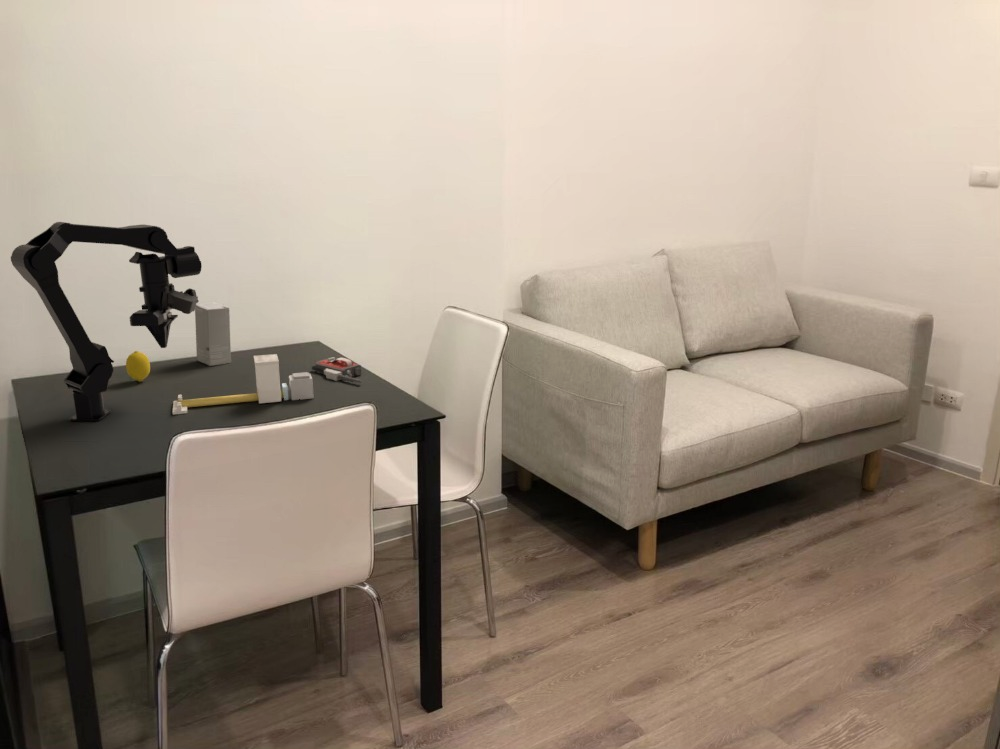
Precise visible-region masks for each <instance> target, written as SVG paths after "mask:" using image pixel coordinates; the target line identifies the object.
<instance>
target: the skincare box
mask: <svg viewBox="0 0 1000 749" xmlns="http://www.w3.org/2000/svg"><path fill="white" fill-rule="evenodd" d="M230 316H231V315H230V307H229V306H226V305H225V304H222V303H219V302H216V301H214V302H203V303H202V302H201V303H196V307H195V311H194V317H195V318H194V319H195V322H194V323H195V340H196V342H195V344H196V347H195V348H196V360H197V361H198V362H200V363H202V364H204V365H207V366H208V367H211V366H218V365H224V364H225V365H227V364H230V363H232V356H231V355H232V354H231V352H232V351H231V348H232V346H231V325H230V323H231V321H230Z"/></svg>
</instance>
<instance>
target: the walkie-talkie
mask: <svg viewBox="0 0 1000 749" xmlns="http://www.w3.org/2000/svg"><path fill="white" fill-rule="evenodd" d="M311 370H312V371H315V372H316V373H317V374H321V375H325V378H326V379H328V380H332V381H333V380H334V381H336V382H337V381H341V380H342V381H347V382H351V383H353V382H354V383H359V384H361V383H362V382H363V381H362V380H361V379H359V378H355V376H360V375H362V365H361V364H358V363H354V362H353V360H352V359H350V358H345V357H339V358H338V357H337V358H336V357H335V356H333V357H328V358H324V359H320V360H317V361H316V362H315V365H313V366H311Z"/></svg>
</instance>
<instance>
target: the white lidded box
mask: <svg viewBox="0 0 1000 749" xmlns="http://www.w3.org/2000/svg"><path fill="white" fill-rule="evenodd" d="M253 360H254V370H255V371H254V372H255V383H256V393H258V399H259V401H258V404H266V403H268V404H269V403H278V402H282V398H281V391H282V388H281V378H280V366H279V364H280V361H279V357H278V354H277V353H273V354H261V355H259V354H258V355H253Z"/></svg>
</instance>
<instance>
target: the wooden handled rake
mask: <svg viewBox="0 0 1000 749" xmlns="http://www.w3.org/2000/svg"><path fill="white" fill-rule="evenodd" d="M283 398H284V396H283V391H282V390H281V399H283ZM249 402H259V399H258V393H257V392H256V393H255V392H253V393H245V394H243V393H242V394H234V395H233V394H232V395H231V394H230V395H223V396H222V395H221V396H212V397H211V396H210V397H202V398H191V399H183V395H182V394H178V395H177V400H173V403H172V404H173V405H172V415H182V414H188V408H197V407H209V406H216V405H217V406H218V405H226V404H227V405H229V404H237V403H238V404H239V403H249Z"/></svg>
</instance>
